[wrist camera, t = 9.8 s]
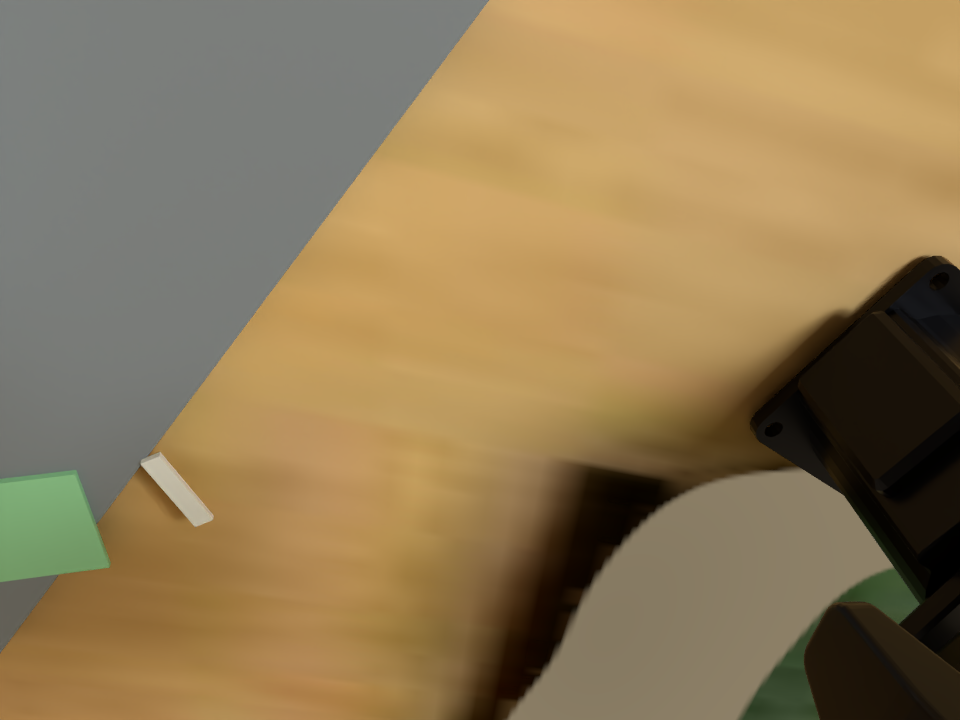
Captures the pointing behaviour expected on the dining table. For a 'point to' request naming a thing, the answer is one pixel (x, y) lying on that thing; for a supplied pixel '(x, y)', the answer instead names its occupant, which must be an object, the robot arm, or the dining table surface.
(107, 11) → the grey board
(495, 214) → the dining table surface
